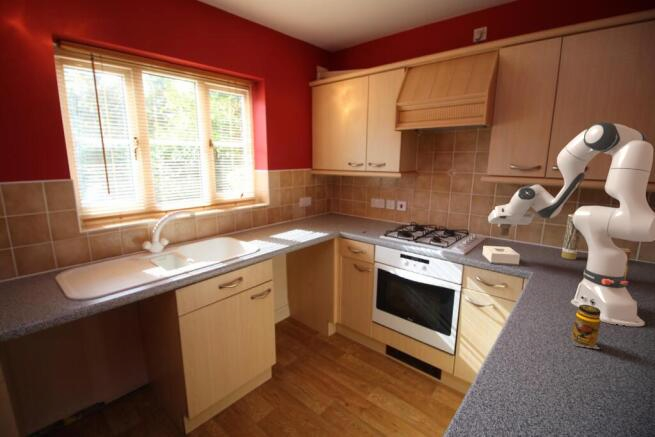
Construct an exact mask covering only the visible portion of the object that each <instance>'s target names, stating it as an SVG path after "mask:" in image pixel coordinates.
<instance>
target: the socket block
mask: <svg viewBox="0 0 655 437" xmlns="http://www.w3.org/2000/svg"><path fill="white" fill-rule="evenodd" d="M481 256H482V257H483V258H484V259H485V260H486V261H487V263H489V264H490V265H501V266H502V265H505V266H519V265H520V258H521V255H520V253H519V252H516V251H515V250H514V249H512V248H511V247H510V246H495V245H483V247H482V255H481Z"/></svg>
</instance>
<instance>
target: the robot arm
mask: <svg viewBox="0 0 655 437" xmlns="http://www.w3.org/2000/svg"><path fill="white" fill-rule="evenodd" d="M599 153H604V154H606V155H610V156H611V159H612V160H611V162H610V166H609V171H608V173H607V177H606V181H605V185H604V191H605V193H607V194H608V195H609V196H610V197H612V198H613V199H616V200H617V201H619V207H611V206H602V205H582V206H580V207H578V208H577V209H576V210H575V212H574V213H573V214H574V215H573V224H574V226H575V227H576V228H577V229H578V230H579V231H580V232H581V235H582V236H583V238H584V239H585V241H586V244H587V248H588V254H587V263H586V267H584V270H583V274H582V275H583V279H582V280H581V281H580V282H579V283H578V286H577V289H576V293H575V295H574V298H572V299H571V301H570V304H572V305H573V306H574V307H577V308H578V309H579V306H580V305H590V306H593V307H596V308H598V309H599V310H600V312H601V313H600V317H599V318H600V320H601V322H603V323H607V324H611V325H616V324H618V325H617V326H623V325H625V327H643V326H645V321H644V320H643V319H641V318H640V317H639V316H638V306H637V305H638V302H637V300H635V299H633V298H632V296H631V294H630V292H629V291H628V290H627V288H626V287H627V284H628V283H629V281H627V279H626V278H625V275H624V272H625V268H626V263H627V255H626V253H625V252H624V251H623V250H622V249H620V248H621V247H618V246H617V245H615V243H614V242H613V240H612V238H614V239H620V240H626V241H629V242H630V241H631V242H644V243H645V242H646V243H647V242H649V243H651V242H654V241H655V212H654V211H653V210H652V208H651V206H650V205H649V203H648V201H647V200H648V199H647V197H646V196H647V195H646V192H647V187H648V182H649V179H650V175H651V171H652V166H653V162H654V147H653V145H652V144H651V143H650V142H649V138H648V136H647V135H646V134H645V133H644V132H642V131H641V130H638V129H634V128H631V127H628V126H627V125H623V124H620V123H613V122H610V121H599V122H598V121H597V122H595V123H593V124H591V125H590V126H589V127H588V128H587V129H585V130H583V131H582V132H580V133H578V134H577V135H576V136H575V137H574V138H572V140H570V141H569V142H568V143H567V145H565V146H564V147H563V148H562V149H561V150H560V152H559V154H557V157H556V164H557V167H558V169H559V172H560V174H561V175H562V177H563V181H564V184H563V187H562V188H561V189H560V191H559V192H558V193H557V195H556V196H555V197H554V196H553V195H552V194H550V192H548V191H547V190H546V189H545V188H544V187H543V186H542V185H541V184H538V183H534V184H533V183H530V184H527V185H525V186H523V187H521V188H519V189H518V190H517V191H516V192H515V193H514V194H513V196H512V197H511V199H510V201H509V203H507V204H502V205H497V206H495V207H494V209H493V210H492V211H491V212H490V213H489V215H488V216H487V221H488V223H489V224H495V225H497V227H498V228H501V227H502V224H510V227H509V228H513V227H515V226H517V225H520V226H521V225H525V226H527V225H530V224H532V221H533V218H535V216H536V213H537V214H538V215H539V216H540V218H542V219H549V220H550V219H553V218H555V217H557V216H558V215H559V214H560V213H561V211H562V209H563V208H564V206H565V205H566V204H567V202H568V201H569V199H570V198H571V197H572V195H573V194H574V193H575V192H576V190H577V189H578V187H579V186H580V184H582V182H583V181H584V179H585V177H586V175H585V169H586V166H587V165H588V163H590V161H592V160H593V158H595V157H596V156H597V155H598V154H599ZM530 208H532V209H533V210H534V211H535V212H536V213H535V212H533V211H527V210H529V209H530Z"/></svg>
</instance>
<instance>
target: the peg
mask: <svg viewBox="0 0 655 437" xmlns="http://www.w3.org/2000/svg"><path fill="white" fill-rule="evenodd" d="M510 228H511V227H510V224H502V227H500V230H499V231H500V232H499V234H500V236H503V237H509V235H510V234H509V233H510Z"/></svg>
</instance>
